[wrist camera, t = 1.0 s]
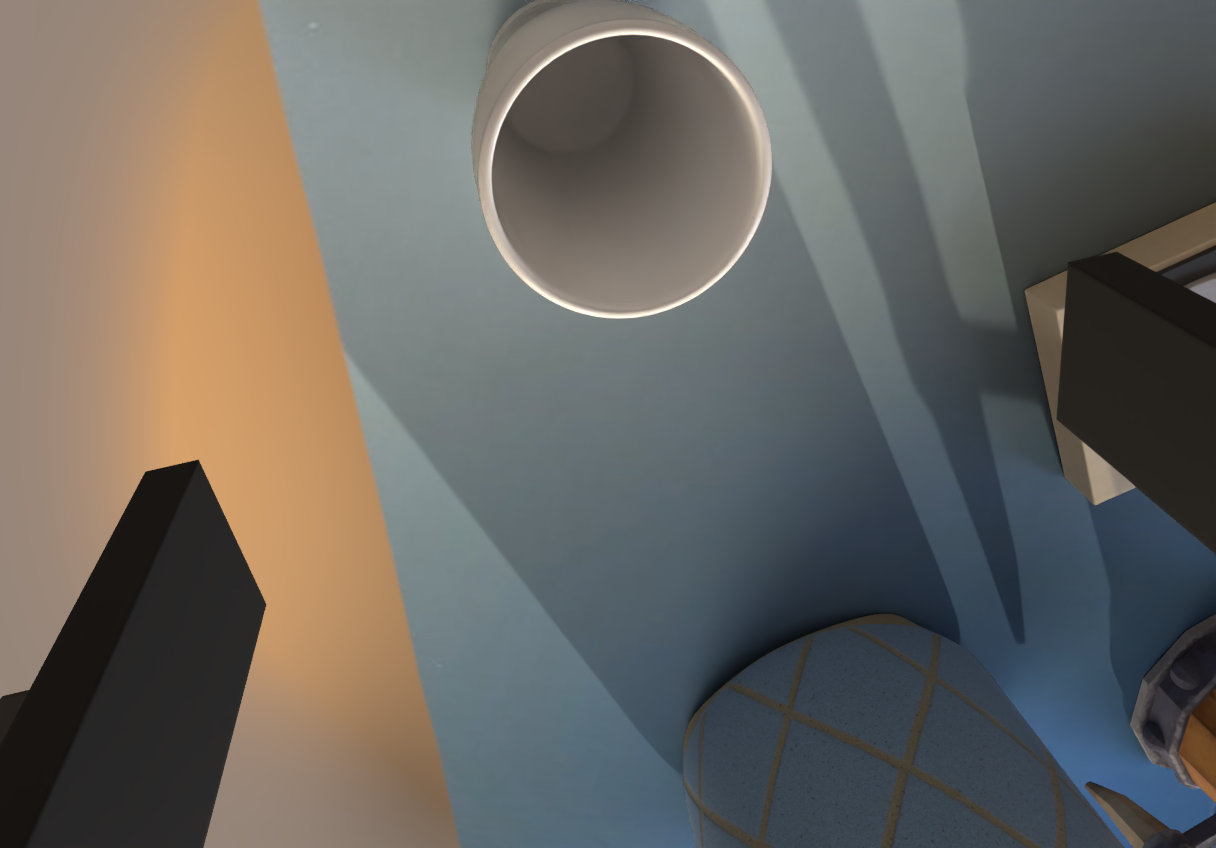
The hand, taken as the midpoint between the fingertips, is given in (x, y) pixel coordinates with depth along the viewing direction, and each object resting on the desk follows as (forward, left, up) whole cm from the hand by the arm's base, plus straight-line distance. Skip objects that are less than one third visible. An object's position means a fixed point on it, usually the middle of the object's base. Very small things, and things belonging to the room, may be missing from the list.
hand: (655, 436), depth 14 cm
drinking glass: (-1, +2, -24) cm, 24 cm away
